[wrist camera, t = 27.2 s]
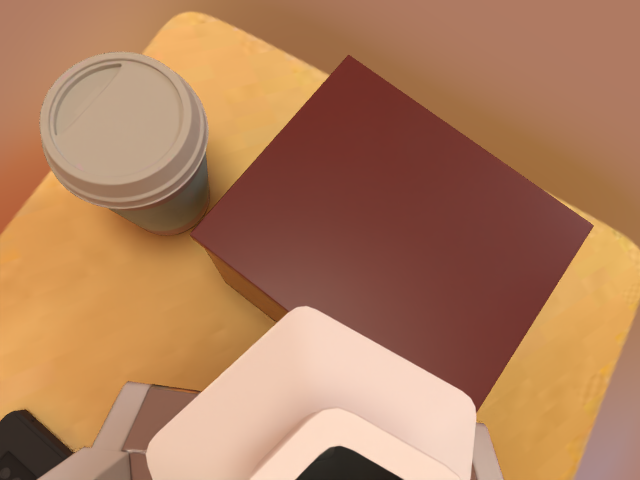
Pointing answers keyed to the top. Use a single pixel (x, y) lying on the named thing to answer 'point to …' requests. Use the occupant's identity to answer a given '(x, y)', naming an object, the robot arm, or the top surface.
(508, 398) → the top surface
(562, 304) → the top surface
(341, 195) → the box lid
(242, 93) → the top surface
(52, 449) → the phone
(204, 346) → the top surface
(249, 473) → the white pentagonal vase
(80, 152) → the coffee cup
